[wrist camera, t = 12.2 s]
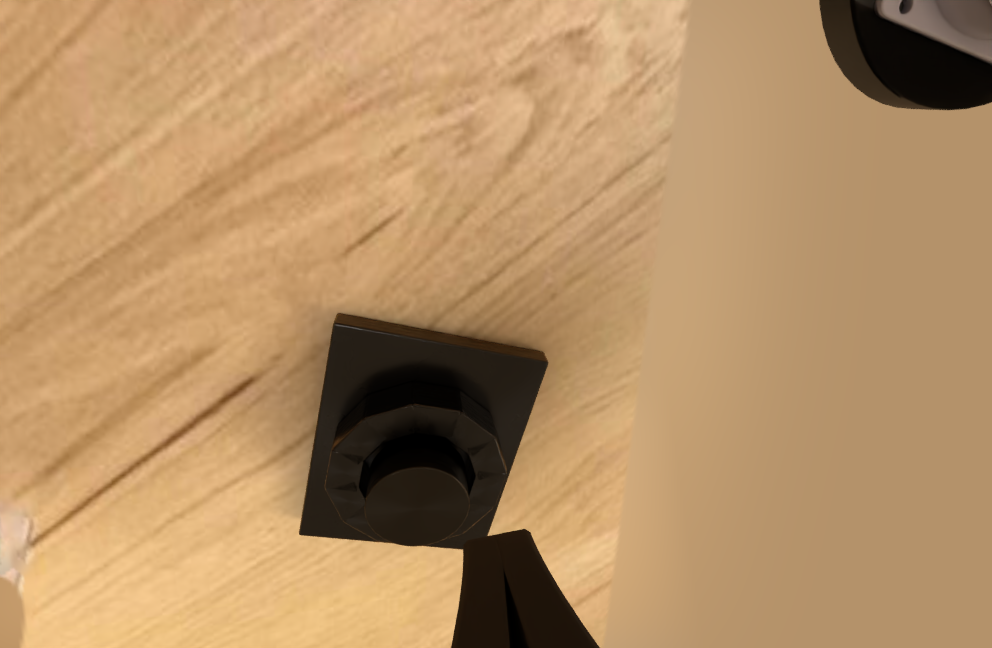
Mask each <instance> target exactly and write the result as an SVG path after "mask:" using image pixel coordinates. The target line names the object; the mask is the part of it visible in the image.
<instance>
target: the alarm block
mask: <svg viewBox="0 0 992 648" xmlns="http://www.w3.org/2000/svg"><path fill="white" fill-rule="evenodd" d="M547 366H548V361H547V358H546V356H545V354H544V353H543V352H540V351H534V350H529V349H524V348H518V347H513V346H508V345H502V344H497V343H492V342H487V341H481V340H476V339H471V338H465V337H460V336H455V335H450V334H444V333H439V332H434V331H428V330H423V329H418V328H412V327H407V326H402V325H397V324H391V323H386V322H381V321H375V320H370V319H365V318H360V317H354V316H349V315H344V314H337V316H336V318H335V321H334V324H333V329H332V335H331V341H330V347H329V354H328V360H327V366H326V372H325V378H324V384H323V390H322V396H321V402H320V408H319V414H318V421H317V427H316V433H315V439H314V445H313V451H312V457H311V463H310V469H309V475H308V481H307V488H306V494H305V500H304V506H303V512H302V518H301V524H300V530H299V534H300V535H304V536H316V537H327V538H338V539H350V540H361V541H372V542H384V543H392V542H389V541H387V540H385V539H383V538H382V537H380V536H379V535H377V534H376V533H375V532H374V531H373V530H372V528H371V527H370V526H369V524H368V522H367V519H366V516H365V509H364V507H365V500H366V492H367V485H368V477H369V470H370V466H371V464H372V462H373V460H374V458H375V457H376V455H377V454H378V453H379V452H380V451H381V450H382V449H383V448H384V447H386V446H387V445H389V444H390V443H392V442H394V441H396V440H399V439H402V438H406V437H411V436H429V437H434V438H437V439H440V440H443V441H445V442H447V443H448V444H450V445H451V446H453V447H454V448H455V449H456V450H457V451H458V452H459V454H460V455H461V457H462V459H463V461H464V464H465V469H466V477H467V485H468V494H469V511H468V514H467V517H466V519H465V521H464V522H463V524H462V525H461V526H460V527H459V528H458V529H457V530H456V531H455V532H454V533H453V534H451V535H450V536H448V537H447V538H445V539H443V540H441V541H439V542H436V543H433V544H429V545H423V546H429V547H440V548H452V549H463V545H464V544H465V543H466V542H467V541H468V540H472V539H477V538H482V537H487V535H488V532H489V530H490V527H491V524H492V521H493V518H494V515H495V513H496V510H497V507H498V504H499V501H500V498H501V496H502V493H503V490H504V487H505V484H506V482H507V479H508V476H509V473H510V470H511V467H512V465H513V462H514V459H515V456H516V453H517V450H518V448H519V445H520V442H521V439H522V436H523V433H524V431H525V428H526V425H527V422H528V419H529V416H530V414H531V411H532V408H533V405H534V402H535V399H536V397H537V394H538V391H539V388H540V385H541V383H542V380H543V377H544V374H545V371H546V368H547Z"/></svg>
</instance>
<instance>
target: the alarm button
mask: <svg viewBox="0 0 992 648" xmlns="http://www.w3.org/2000/svg"><path fill="white" fill-rule="evenodd" d="M364 509H365V516H366V519H367V522H368V524H369V526H370V527H371V528H372V530H373V531H374V532H375V533H376V534H377V535H379V536H380V537H382V538H383V539H385V540H387V541H389V542H392V543H395V544H399V545H404V546H423V545H429V544H433V543H436V542H439V541H441V540H443V539H445V538H447V537H448V536H450V535H451V534H453V533H454V532H455V531H456V530H457V529H458V528H459V527H460V526H461V525H462V524H463V522H464V521H465V519H466V517H467V514H468V511H469V494H468V485H467V477H466V469H465V464H464V461H463V459H462V457H461V455H460V454H459V452H458V451H457V450H456V449H455V448H454V447H453V446H451V445H450V444H448V443H447V442H445V441H443V440H440V439H437V438H434V437H429V436H411V437H406V438H402V439H399V440H396V441H394V442H392V443H390V444H389V445H387V446H386V447H384V448H383V449H382V450H381V451H380V452H379V453H378V454H377V455H376V457H375V458H374V460H373V462H372V464H371V466H370V470H369V477H368V485H367V492H366V500H365V507H364Z"/></svg>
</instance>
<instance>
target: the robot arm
mask: <svg viewBox="0 0 992 648" xmlns="http://www.w3.org/2000/svg"><path fill="white" fill-rule="evenodd" d="M902 1H903V5H904V6H903V9H902V11H901V12H900V11H899V6H900V3H901V2H902ZM874 11H875V13H876V15H877V16H878V17H879V18H881V19H883V20H886V21H888V22H891V23H893V24H895V25H898V26H900V27H902V28H905V29H907V30H909V31H912V32H914V33H917V34H919V35H921V36H924V37H926V38H928V39H931V40H933V41H935V42H938V43H940V44H942V45H945V46H947V47H950V48H952V49H954V50H957V51H959V52H961V53H964V54H966V55H968V56H971V57H973V58H976V59H978V60H980V61H983V62H985V63H987V64H990V65H992V0H876V1H875V4H874ZM463 555H464V556H463V576H462V586H461V593H460V601H459V608H458V614H457V619H456V625H455V630H454V636H453V641H452V646H451V648H600V647H599V646H598V645H597V643H596V642H595V641H594V639H593V638H592V636H591V635H590V634H589V632H588V631H587V629H586V628H585V627H584V625H583V624H582V622H581V621H580V619H579V618H578V616H577V615H576V613H575V612H574V610H573V609H572V607H571V606H570V604H569V603H568V601H567V600H566V598H565V596H564V595H563V593H562V592H561V590H560V588H559V587H558V585H557V583H556V582H555V580H554V578H553V577H552V575H551V573H550V571H549V570H548V568H547V566H546V564H545V562H544V561H543V559H542V557H541V555H540V553H539V551H538V549H537V547H536V545H535V543H534V540H533V538H532V536H531V533H530V532H529V531H527V530H526V529H522V530H517V531H512V532H507V533H502V534H497V535H492V536H487V537H482V538H477V539H472V540H468V541H467V542H466V543H465V544H464V545H463Z"/></svg>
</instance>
